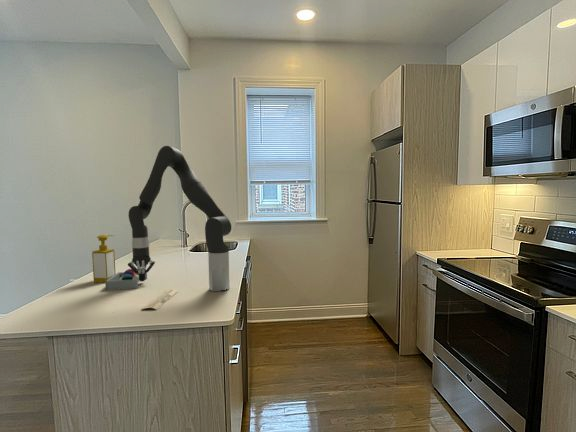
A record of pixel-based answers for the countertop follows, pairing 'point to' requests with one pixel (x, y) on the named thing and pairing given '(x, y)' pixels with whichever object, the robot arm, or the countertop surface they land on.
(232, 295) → the countertop surface
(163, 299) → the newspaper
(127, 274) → the rainbow striped dome
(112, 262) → the soap bottle
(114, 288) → the tray
